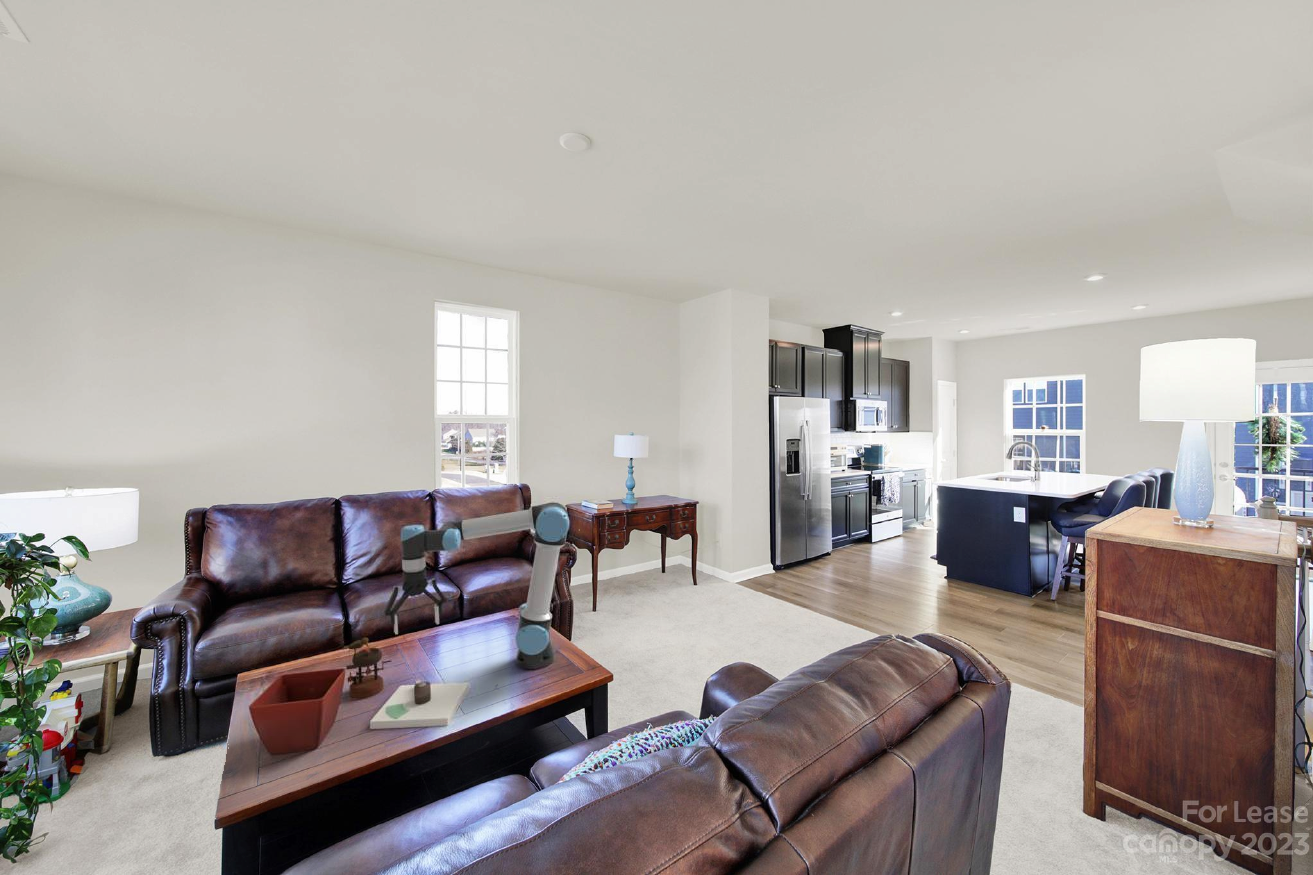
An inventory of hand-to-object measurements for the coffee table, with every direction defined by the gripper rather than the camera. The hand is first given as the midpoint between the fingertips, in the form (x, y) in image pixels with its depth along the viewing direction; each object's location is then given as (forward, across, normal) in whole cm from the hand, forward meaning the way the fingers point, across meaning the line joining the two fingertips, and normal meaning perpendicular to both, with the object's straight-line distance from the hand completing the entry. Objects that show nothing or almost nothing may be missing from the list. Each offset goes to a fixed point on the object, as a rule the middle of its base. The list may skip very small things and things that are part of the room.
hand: (417, 627), depth 186 cm
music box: (+22, +15, -10) cm, 29 cm away
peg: (+20, +2, +9) cm, 22 cm away
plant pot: (+22, +35, +10) cm, 43 cm away
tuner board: (+22, +2, +14) cm, 26 cm away
